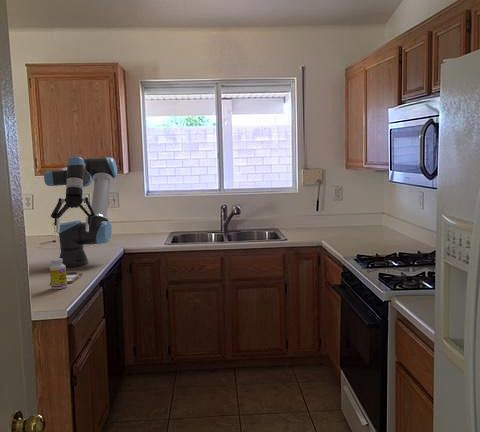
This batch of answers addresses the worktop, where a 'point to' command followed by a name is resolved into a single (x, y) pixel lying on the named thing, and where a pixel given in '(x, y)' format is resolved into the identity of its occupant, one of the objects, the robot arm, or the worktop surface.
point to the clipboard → (72, 276)
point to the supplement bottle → (58, 274)
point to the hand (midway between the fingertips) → (72, 231)
